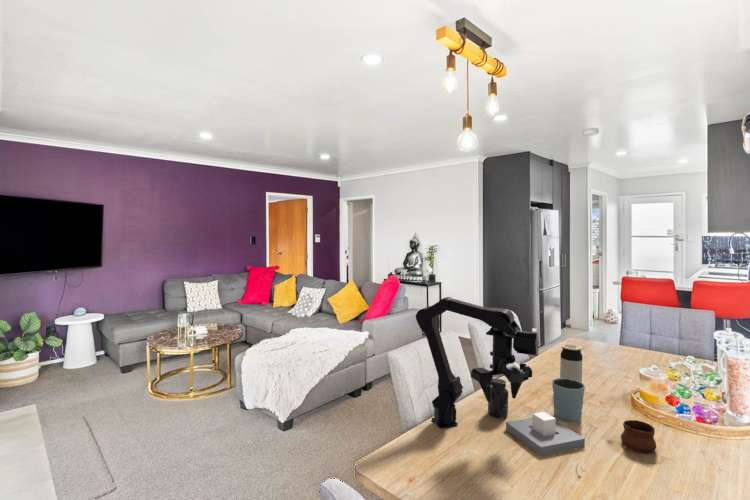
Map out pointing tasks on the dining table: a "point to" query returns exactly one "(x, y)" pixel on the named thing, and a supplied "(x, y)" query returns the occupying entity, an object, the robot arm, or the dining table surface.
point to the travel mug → (571, 362)
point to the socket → (547, 444)
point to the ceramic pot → (638, 437)
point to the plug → (543, 424)
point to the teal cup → (568, 399)
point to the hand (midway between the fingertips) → (501, 399)
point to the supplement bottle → (498, 399)
